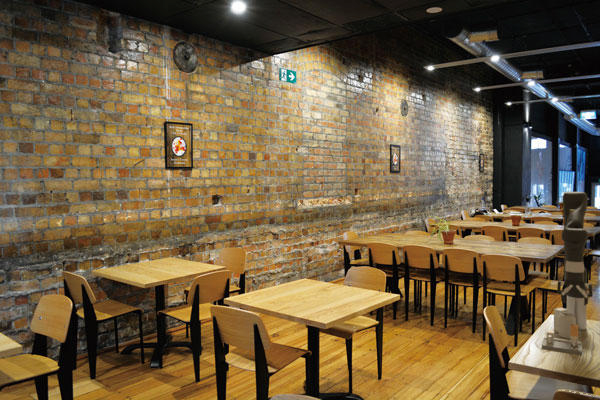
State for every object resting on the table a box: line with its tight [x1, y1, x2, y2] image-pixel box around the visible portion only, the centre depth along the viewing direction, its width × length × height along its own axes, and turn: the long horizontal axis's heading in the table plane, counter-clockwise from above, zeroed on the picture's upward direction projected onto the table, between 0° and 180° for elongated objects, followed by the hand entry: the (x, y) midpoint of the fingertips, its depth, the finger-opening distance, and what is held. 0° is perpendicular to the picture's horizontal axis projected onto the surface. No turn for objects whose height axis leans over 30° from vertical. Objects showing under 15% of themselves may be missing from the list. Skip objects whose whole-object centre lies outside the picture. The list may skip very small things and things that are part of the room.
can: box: [558, 313, 576, 340], centre depth 227 cm, size 8×8×12 cm
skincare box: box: [553, 307, 568, 333], centre depth 236 cm, size 6×4×12 cm
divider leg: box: [570, 324, 579, 348], centre depth 210 cm, size 3×8×9 cm, turn 147°
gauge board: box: [541, 329, 583, 356], centre depth 213 cm, size 16×12×6 cm
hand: (574, 303), depth 211 cm, fingers open, 8 cm apart
